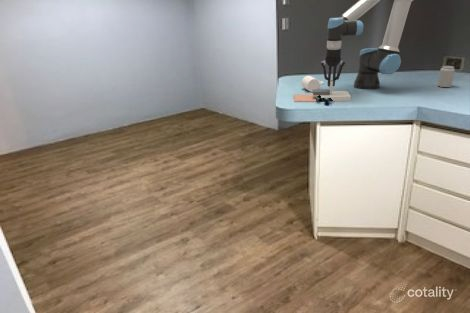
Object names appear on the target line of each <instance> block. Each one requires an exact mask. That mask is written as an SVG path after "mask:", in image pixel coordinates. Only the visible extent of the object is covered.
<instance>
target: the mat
mask: <svg viewBox="0 0 470 313" xmlns="http://www.w3.org/2000/svg"><path fill="white" fill-rule="evenodd" d="M317 96H319V95H314V96H313V94H293V102H294V103H301V102H302V103H310V102H311V103H312V102H314V103H316V97H317Z"/></svg>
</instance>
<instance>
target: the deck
mask: <svg viewBox="0 0 470 313" xmlns="http://www.w3.org/2000/svg"><path fill="white" fill-rule="evenodd" d="M320 96H321V98H331V99H332V100H333V101H332V102H351V99H352V98H351V97H352V96H351V94H350V93H349V92H348V90H342V91H341V90H339V91H338V90H332V93H330V95H320Z"/></svg>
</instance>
